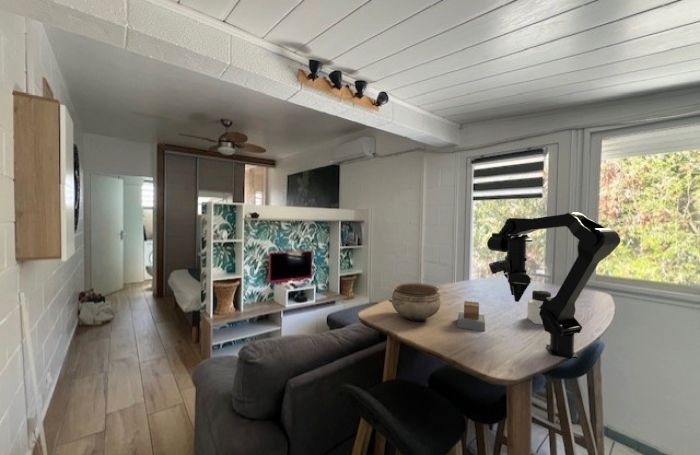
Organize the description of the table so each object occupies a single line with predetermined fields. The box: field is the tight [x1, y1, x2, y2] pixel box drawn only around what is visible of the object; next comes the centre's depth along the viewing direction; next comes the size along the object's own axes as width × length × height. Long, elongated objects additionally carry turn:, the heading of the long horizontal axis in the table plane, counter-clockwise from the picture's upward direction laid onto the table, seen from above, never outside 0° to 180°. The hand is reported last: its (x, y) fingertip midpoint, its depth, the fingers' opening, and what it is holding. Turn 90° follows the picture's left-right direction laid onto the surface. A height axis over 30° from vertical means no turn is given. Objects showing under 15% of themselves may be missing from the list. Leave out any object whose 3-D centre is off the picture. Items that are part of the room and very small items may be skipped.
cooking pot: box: [388, 282, 441, 322], centre depth 115 cm, size 25×19×12 cm
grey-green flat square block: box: [457, 311, 486, 332], centre depth 108 cm, size 9×9×3 cm
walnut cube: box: [463, 300, 480, 320], centre depth 108 cm, size 5×5×5 cm
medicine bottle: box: [526, 289, 552, 326], centre depth 112 cm, size 7×7×12 cm
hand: (514, 298), depth 101 cm, fingers open, 9 cm apart
